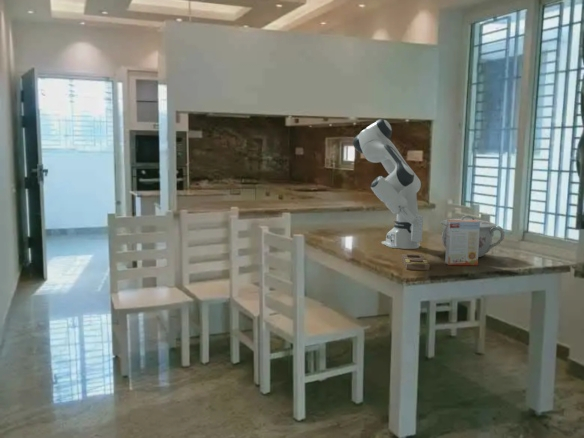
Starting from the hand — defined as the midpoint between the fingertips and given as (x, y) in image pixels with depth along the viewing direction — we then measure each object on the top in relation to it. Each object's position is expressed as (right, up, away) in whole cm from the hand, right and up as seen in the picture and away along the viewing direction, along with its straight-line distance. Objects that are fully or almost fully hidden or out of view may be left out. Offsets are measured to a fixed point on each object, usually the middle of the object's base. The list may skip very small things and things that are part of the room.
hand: (418, 226), depth 273 cm
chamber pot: (+29, -15, +20) cm, 38 cm away
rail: (-2, -18, -4) cm, 18 cm away
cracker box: (+20, -18, -1) cm, 27 cm away
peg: (-1, -7, +1) cm, 7 cm away
